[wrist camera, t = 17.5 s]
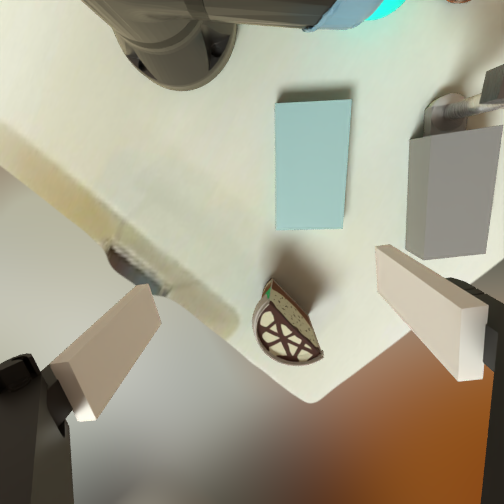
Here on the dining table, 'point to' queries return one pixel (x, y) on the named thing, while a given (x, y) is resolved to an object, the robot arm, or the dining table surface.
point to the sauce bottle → (458, 1)
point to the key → (480, 97)
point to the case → (450, 185)
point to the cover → (311, 163)
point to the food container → (284, 328)
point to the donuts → (386, 9)
